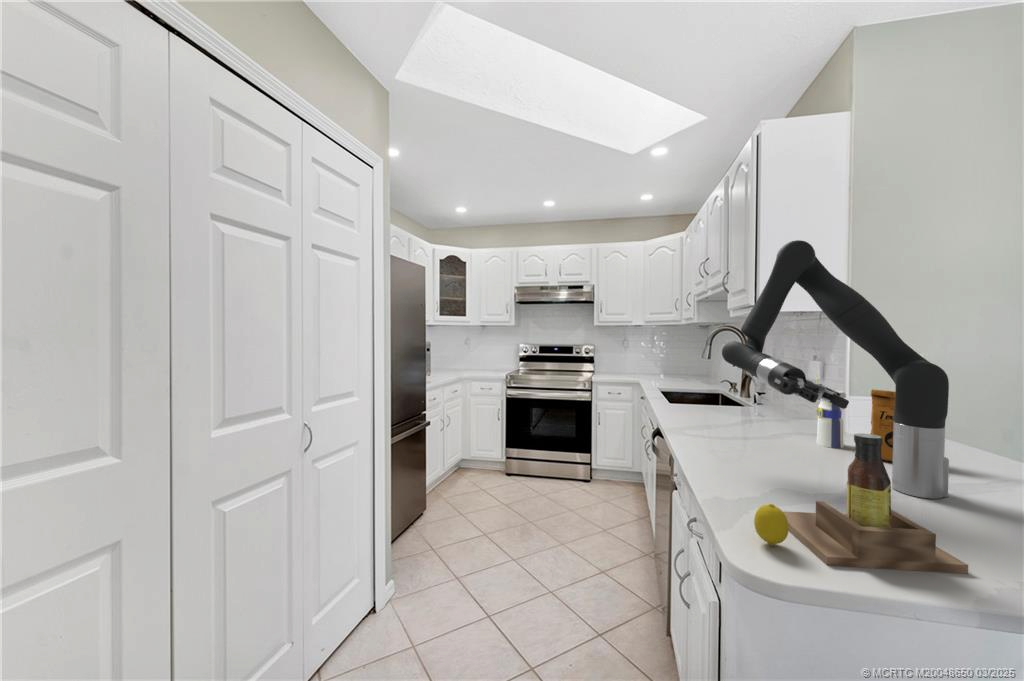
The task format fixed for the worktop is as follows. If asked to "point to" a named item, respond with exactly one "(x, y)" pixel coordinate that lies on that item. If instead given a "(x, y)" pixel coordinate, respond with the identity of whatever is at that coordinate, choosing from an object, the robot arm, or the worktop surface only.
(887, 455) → the coffee package
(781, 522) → the lemon
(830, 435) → the white and blue bottle
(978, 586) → the worktop surface
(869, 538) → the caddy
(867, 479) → the sauce bottle
